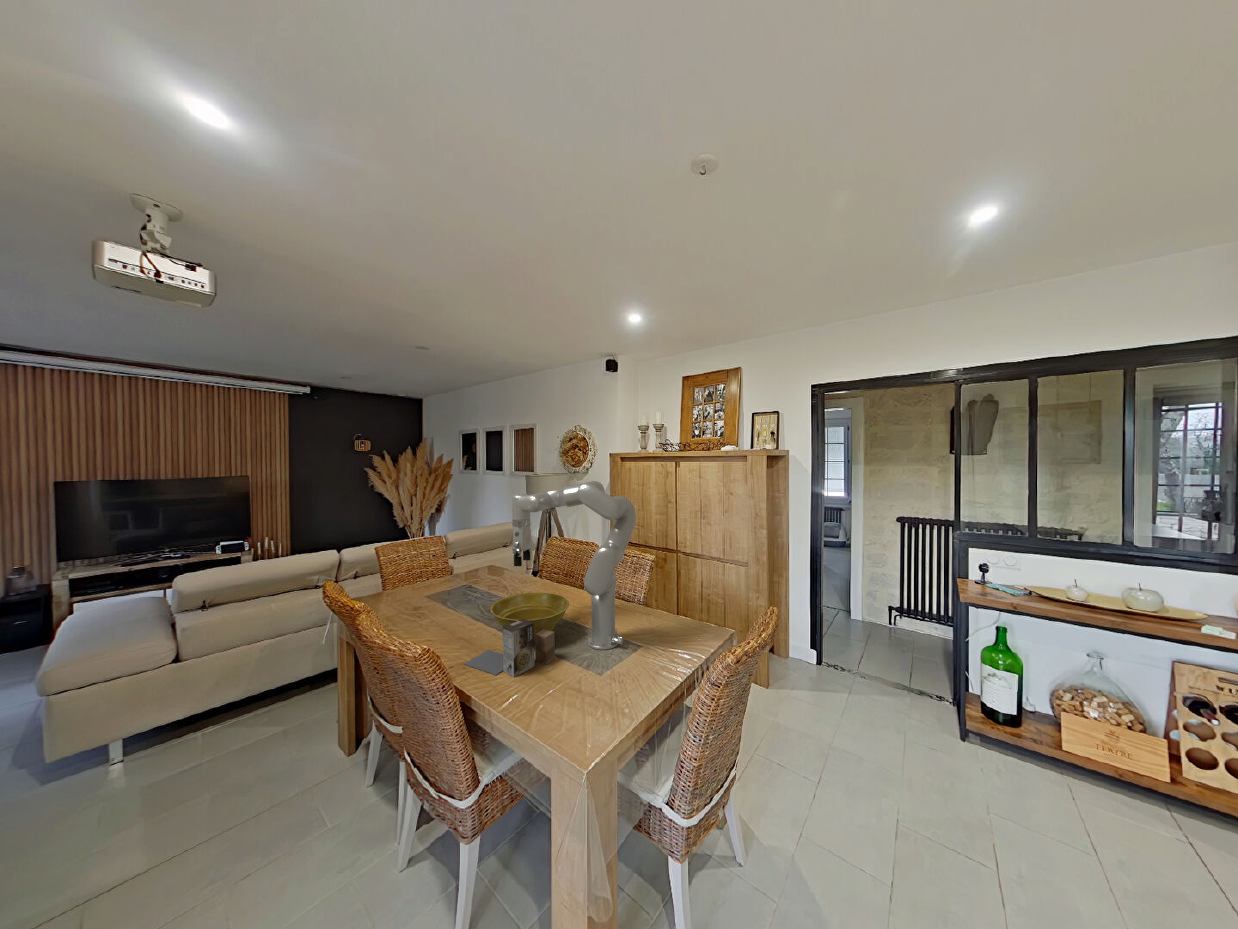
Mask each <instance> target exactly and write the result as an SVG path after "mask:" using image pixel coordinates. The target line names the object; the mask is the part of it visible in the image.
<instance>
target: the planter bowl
mask: <svg viewBox="0 0 1238 929" xmlns="http://www.w3.org/2000/svg"><path fill="white" fill-rule="evenodd" d="M568 608H570V602H569V600H568V599H567V598H566V597H564V596H562V595H559V594H556V593H549V592H527V593H526V592H525V593H518V594H513V595H508V596H506V597H504V598H501V599H499V600H497V601H495V602H494V603H493V604H492V605H490V613H491V614H492V615H493V617H494V618H495V620H496V622H497V623H498V624H499V626H502V627H503V626H505V625H508V624H510V623H513V622H515V621H518V620H520V619H526V620H529V621H530V622H533V623H534V644H535V634H537V633H538V632H540V631H542V630H548V631H552V632H554V629H555V628H556V625H557V624H558V623H559V621H561V620H562V619H563V617H564V616H565V614H566V611H567V610H568Z"/></svg>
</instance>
